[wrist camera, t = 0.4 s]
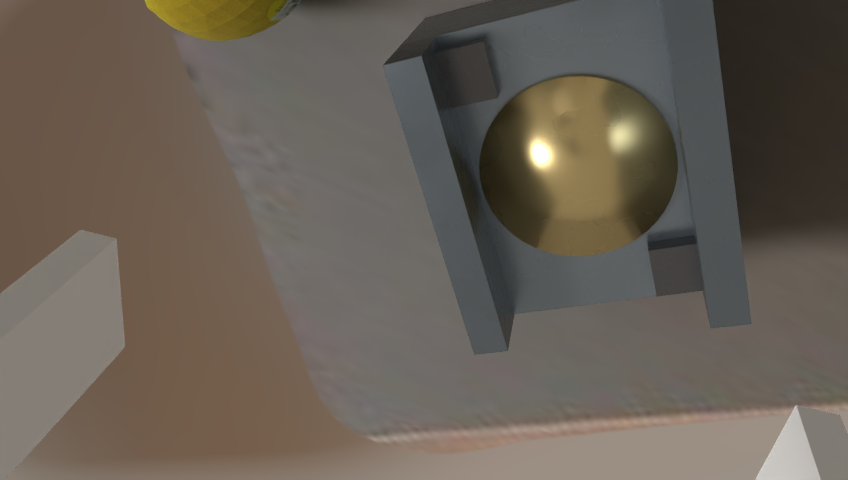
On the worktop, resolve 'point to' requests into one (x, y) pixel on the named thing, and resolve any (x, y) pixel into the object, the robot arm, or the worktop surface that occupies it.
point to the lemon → (221, 16)
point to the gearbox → (573, 156)
